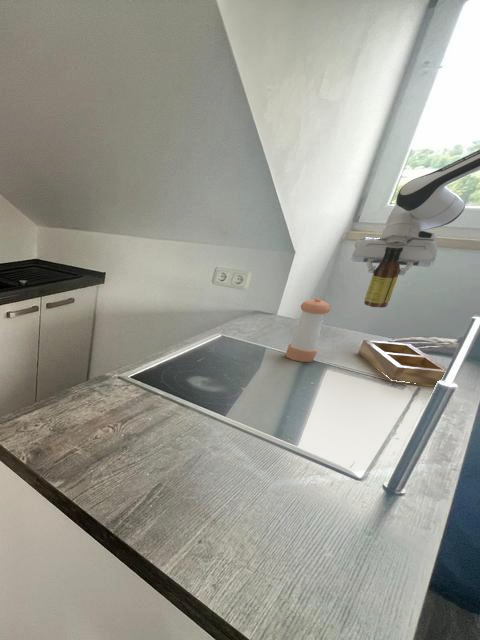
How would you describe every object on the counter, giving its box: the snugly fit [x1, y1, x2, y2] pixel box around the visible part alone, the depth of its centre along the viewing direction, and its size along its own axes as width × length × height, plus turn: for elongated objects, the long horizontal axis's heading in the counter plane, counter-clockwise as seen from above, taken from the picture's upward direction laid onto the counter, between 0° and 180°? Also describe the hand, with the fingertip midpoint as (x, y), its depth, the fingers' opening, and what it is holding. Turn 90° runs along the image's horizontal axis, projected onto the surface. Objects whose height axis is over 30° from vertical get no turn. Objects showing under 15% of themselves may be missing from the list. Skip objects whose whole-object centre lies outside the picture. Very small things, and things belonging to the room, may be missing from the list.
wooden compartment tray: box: [358, 339, 448, 388], centre depth 112 cm, size 12×22×5 cm, turn 159°
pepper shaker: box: [285, 297, 331, 363], centre depth 119 cm, size 7×7×19 cm
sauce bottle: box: [363, 246, 403, 308], centre depth 130 cm, size 7×6×20 cm
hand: (386, 272), depth 129 cm, fingers closed on sauce bottle, 6 cm apart
